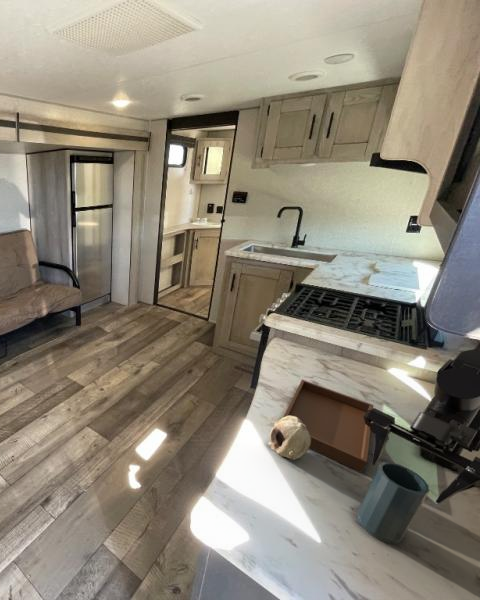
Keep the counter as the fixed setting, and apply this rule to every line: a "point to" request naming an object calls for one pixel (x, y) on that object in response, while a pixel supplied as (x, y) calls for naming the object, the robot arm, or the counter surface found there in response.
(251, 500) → the counter surface
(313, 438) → the tray
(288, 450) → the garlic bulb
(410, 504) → the tumbler
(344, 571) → the counter surface
